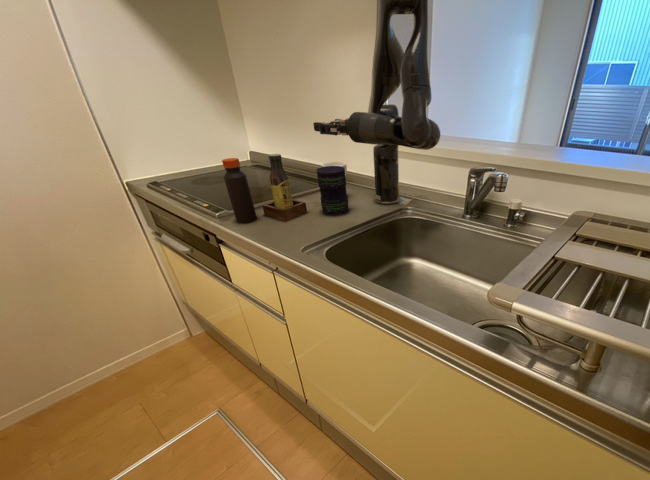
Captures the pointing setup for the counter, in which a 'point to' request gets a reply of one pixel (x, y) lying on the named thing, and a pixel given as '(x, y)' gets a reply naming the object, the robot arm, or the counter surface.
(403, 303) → the counter surface
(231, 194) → the vinegar
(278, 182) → the sauce bottle
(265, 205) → the box
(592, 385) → the counter surface
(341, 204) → the storage jar
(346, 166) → the foam cup
